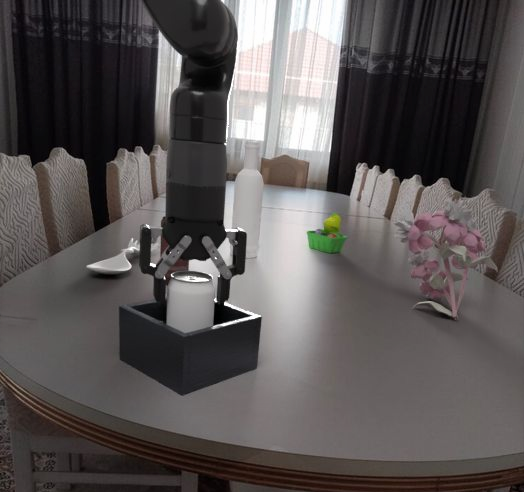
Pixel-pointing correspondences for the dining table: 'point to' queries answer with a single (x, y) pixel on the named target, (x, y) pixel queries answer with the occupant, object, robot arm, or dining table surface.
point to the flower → (443, 251)
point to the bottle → (248, 199)
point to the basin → (188, 345)
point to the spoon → (119, 260)
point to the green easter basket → (327, 236)
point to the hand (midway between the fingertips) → (191, 303)
